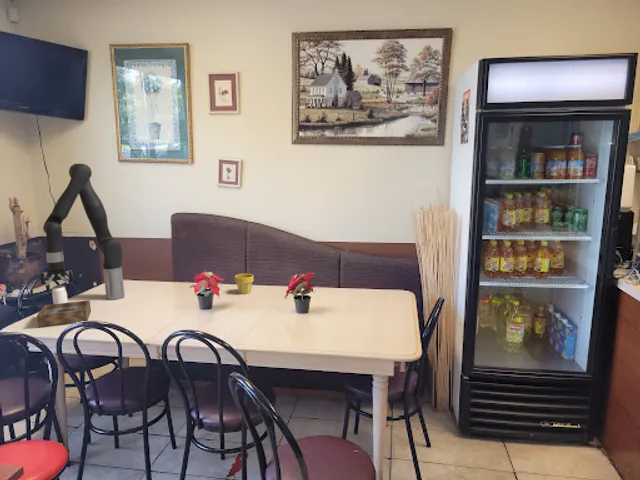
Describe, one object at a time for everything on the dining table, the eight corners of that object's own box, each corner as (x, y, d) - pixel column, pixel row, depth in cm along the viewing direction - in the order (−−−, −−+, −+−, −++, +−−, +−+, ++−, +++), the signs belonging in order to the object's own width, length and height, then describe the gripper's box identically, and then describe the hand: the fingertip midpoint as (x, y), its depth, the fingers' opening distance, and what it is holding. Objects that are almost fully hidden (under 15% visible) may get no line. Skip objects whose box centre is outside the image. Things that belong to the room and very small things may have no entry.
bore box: (91, 311, 228) (89, 300, 227) (87, 321, 213) (85, 309, 212) (45, 316, 221) (44, 305, 220) (38, 327, 206) (36, 315, 205)
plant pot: (246, 288, 264) (246, 272, 262) (257, 292, 257) (257, 275, 255) (232, 292, 257) (231, 275, 255) (242, 296, 250) (242, 279, 248)
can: (62, 311, 229) (59, 288, 227) (51, 310, 231) (48, 287, 228) (71, 307, 235) (68, 284, 233) (60, 306, 237) (58, 284, 235)
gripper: (72, 258, 234) (75, 288, 237) (40, 260, 229) (44, 290, 232) (70, 260, 227) (73, 291, 230) (37, 263, 222) (41, 294, 225)
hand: (58, 291), depth 231 cm, fingers open, 8 cm apart
